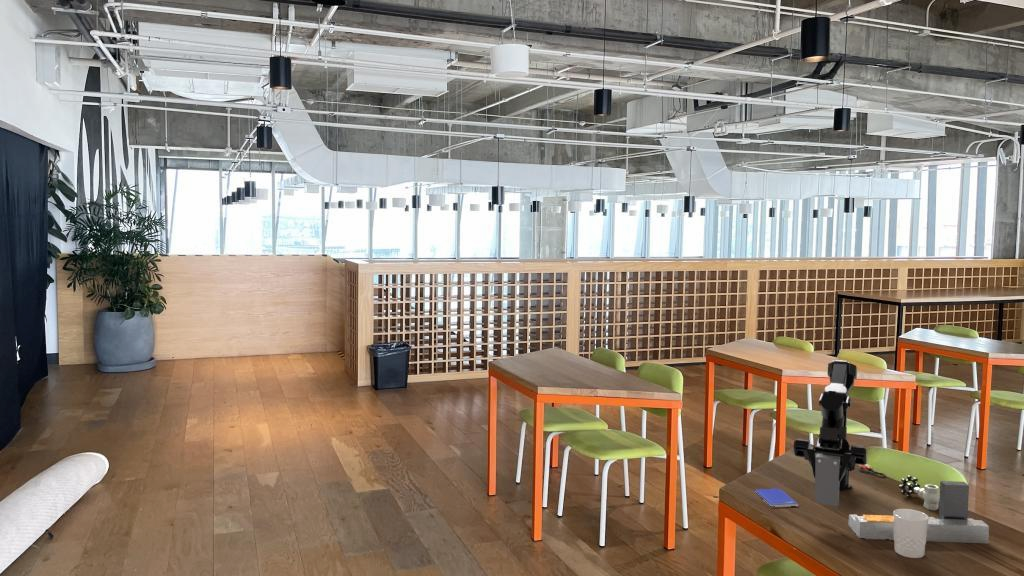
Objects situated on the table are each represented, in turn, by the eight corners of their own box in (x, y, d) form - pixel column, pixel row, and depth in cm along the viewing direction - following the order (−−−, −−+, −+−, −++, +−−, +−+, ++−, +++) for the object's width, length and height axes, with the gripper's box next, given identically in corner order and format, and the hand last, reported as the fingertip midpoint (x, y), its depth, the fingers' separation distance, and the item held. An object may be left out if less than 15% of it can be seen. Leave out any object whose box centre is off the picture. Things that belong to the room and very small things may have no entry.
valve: (946, 510, 222) (917, 495, 234) (947, 488, 222) (918, 474, 234) (925, 511, 221) (898, 497, 233) (926, 489, 221) (898, 475, 232)
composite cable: (887, 478, 250) (888, 471, 250) (875, 479, 249) (875, 472, 249) (866, 469, 260) (866, 461, 259) (854, 470, 258) (854, 463, 258)
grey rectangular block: (815, 498, 215) (817, 453, 213) (838, 502, 212) (840, 456, 211) (814, 502, 212) (815, 457, 211) (837, 506, 209) (839, 460, 208)
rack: (848, 524, 212) (849, 476, 211) (970, 528, 209) (973, 480, 208) (859, 538, 203) (861, 488, 202) (988, 543, 199) (990, 492, 198)
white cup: (885, 546, 198) (886, 509, 197) (914, 545, 199) (916, 507, 198) (903, 560, 190) (904, 521, 189) (933, 558, 191) (935, 519, 190)
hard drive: (798, 502, 226) (780, 488, 238) (771, 504, 225) (754, 489, 238) (798, 508, 226) (780, 493, 238) (771, 509, 225) (754, 494, 238)
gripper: (795, 411, 217) (788, 460, 209) (867, 418, 209) (863, 470, 200) (798, 431, 225) (792, 479, 217) (868, 439, 217) (864, 489, 208)
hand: (826, 479), depth 210 cm, fingers closed on grey rectangular block, 6 cm apart
